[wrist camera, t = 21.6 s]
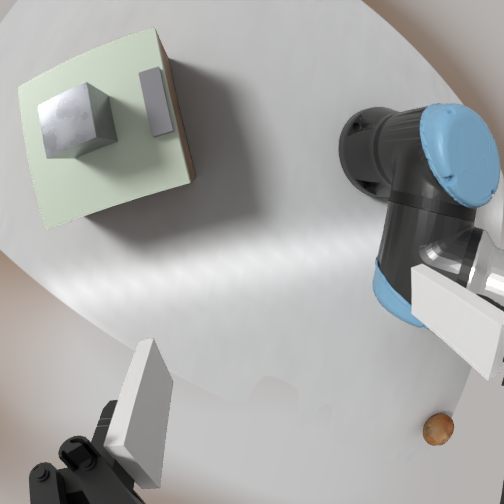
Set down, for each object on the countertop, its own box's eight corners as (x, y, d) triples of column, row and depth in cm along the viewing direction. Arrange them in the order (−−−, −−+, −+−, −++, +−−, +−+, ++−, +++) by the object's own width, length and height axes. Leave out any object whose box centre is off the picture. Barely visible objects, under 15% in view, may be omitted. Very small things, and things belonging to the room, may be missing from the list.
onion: (434, 427, 71) (449, 447, 62) (411, 433, 70) (426, 455, 60) (448, 405, 69) (465, 425, 59) (426, 410, 67) (443, 432, 58)
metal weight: (108, 95, 30) (86, 81, 23) (118, 141, 32) (96, 137, 25) (65, 113, 30) (37, 105, 23) (74, 158, 31) (46, 158, 25)
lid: (156, 31, 29) (152, 23, 27) (191, 182, 35) (189, 183, 33) (23, 89, 29) (13, 86, 26) (50, 228, 34) (41, 232, 32)
